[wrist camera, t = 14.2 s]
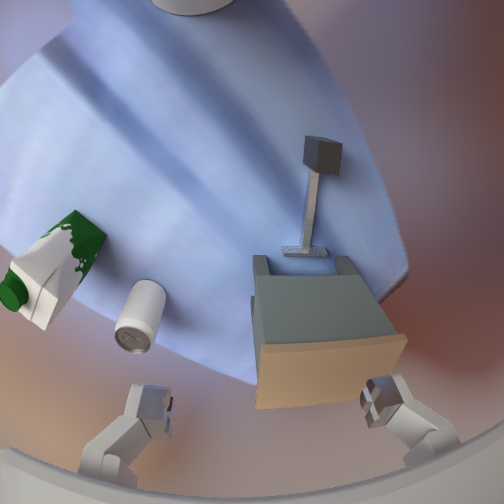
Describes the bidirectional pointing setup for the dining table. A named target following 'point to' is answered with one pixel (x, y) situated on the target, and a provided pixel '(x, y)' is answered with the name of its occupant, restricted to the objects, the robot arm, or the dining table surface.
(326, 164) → the block
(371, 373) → the cabinet
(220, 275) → the dining table surface
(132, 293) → the can
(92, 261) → the milk carton
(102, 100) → the dining table surface
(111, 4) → the dining table surface
